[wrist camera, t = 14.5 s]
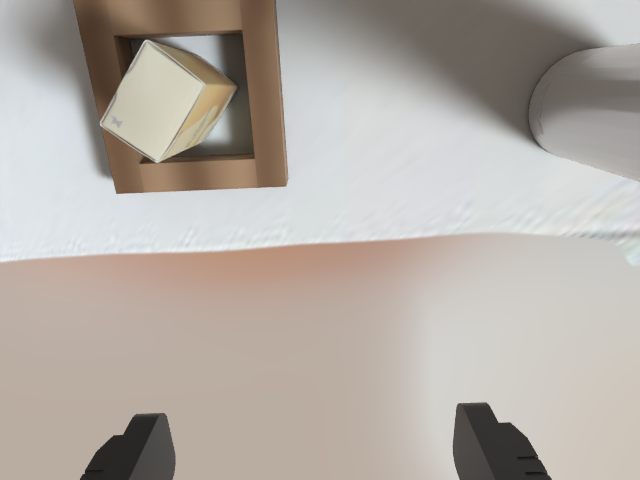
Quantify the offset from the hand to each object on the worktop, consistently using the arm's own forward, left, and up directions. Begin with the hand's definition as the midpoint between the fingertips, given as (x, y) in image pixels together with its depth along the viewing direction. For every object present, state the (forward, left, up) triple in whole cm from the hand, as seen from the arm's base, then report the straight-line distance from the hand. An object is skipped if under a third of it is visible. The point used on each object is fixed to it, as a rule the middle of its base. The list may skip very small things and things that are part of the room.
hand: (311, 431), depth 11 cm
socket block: (+10, -8, -30) cm, 33 cm away
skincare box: (+10, -8, -30) cm, 33 cm away
